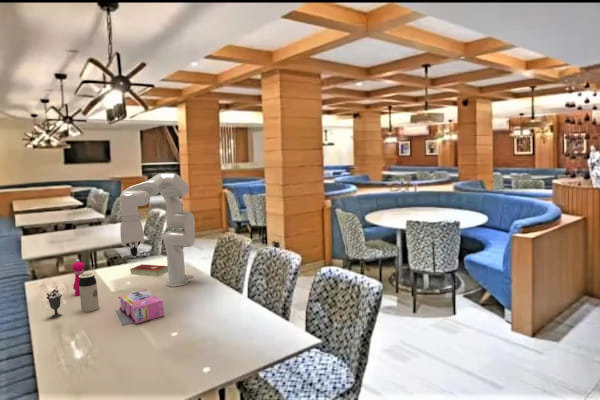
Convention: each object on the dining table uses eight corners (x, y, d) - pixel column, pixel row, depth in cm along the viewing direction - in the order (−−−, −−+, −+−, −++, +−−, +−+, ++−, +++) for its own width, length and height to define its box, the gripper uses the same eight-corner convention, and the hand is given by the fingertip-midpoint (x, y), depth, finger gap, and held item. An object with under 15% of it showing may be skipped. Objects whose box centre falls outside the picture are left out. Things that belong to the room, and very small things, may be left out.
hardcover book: (142, 269, 293) (142, 263, 292) (169, 271, 285) (168, 265, 285) (130, 275, 281) (129, 268, 281) (157, 277, 274) (156, 270, 274)
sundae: (67, 314, 216) (64, 284, 214) (56, 319, 210) (52, 289, 208) (57, 313, 218) (53, 283, 216) (45, 318, 212) (42, 288, 210)
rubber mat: (148, 303, 226) (148, 303, 226) (158, 317, 207) (158, 316, 207) (115, 310, 218) (115, 310, 218) (122, 325, 199) (122, 324, 199)
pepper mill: (77, 292, 249) (73, 258, 247) (90, 291, 250) (86, 257, 247) (71, 296, 242) (68, 261, 240) (85, 295, 243) (81, 260, 240)
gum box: (146, 303, 226) (118, 310, 218) (144, 288, 225) (117, 294, 217) (164, 316, 208) (135, 324, 199) (162, 300, 207) (133, 307, 198)
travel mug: (78, 311, 219) (74, 276, 217) (90, 305, 226) (87, 272, 224) (90, 313, 216) (86, 277, 214) (102, 307, 224) (99, 273, 221)
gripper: (145, 215, 218) (148, 251, 220) (112, 219, 210) (116, 256, 213) (148, 217, 211) (151, 254, 214) (115, 221, 204) (119, 260, 206)
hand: (134, 255), depth 213 cm, fingers closed
